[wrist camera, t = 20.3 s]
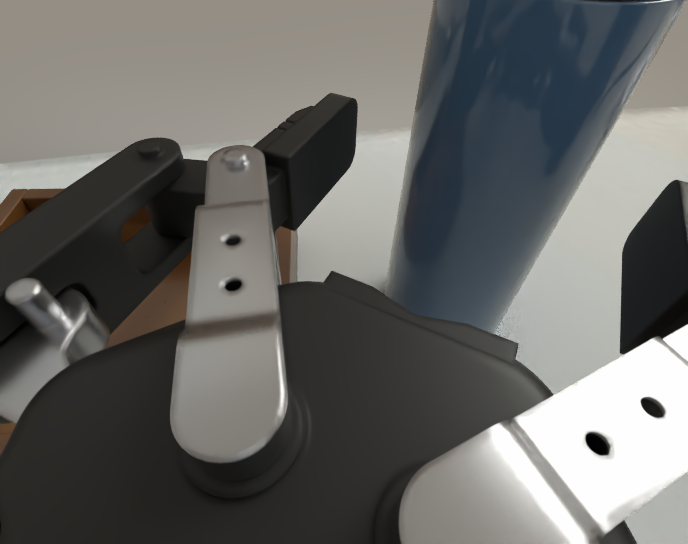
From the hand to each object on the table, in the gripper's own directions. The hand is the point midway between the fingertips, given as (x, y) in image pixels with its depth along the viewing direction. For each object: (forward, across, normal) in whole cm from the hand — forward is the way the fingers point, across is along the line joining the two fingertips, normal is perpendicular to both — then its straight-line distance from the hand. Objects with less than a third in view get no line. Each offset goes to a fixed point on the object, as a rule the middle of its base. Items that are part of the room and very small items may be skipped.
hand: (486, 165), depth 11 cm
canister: (+4, 0, +11) cm, 12 cm away
